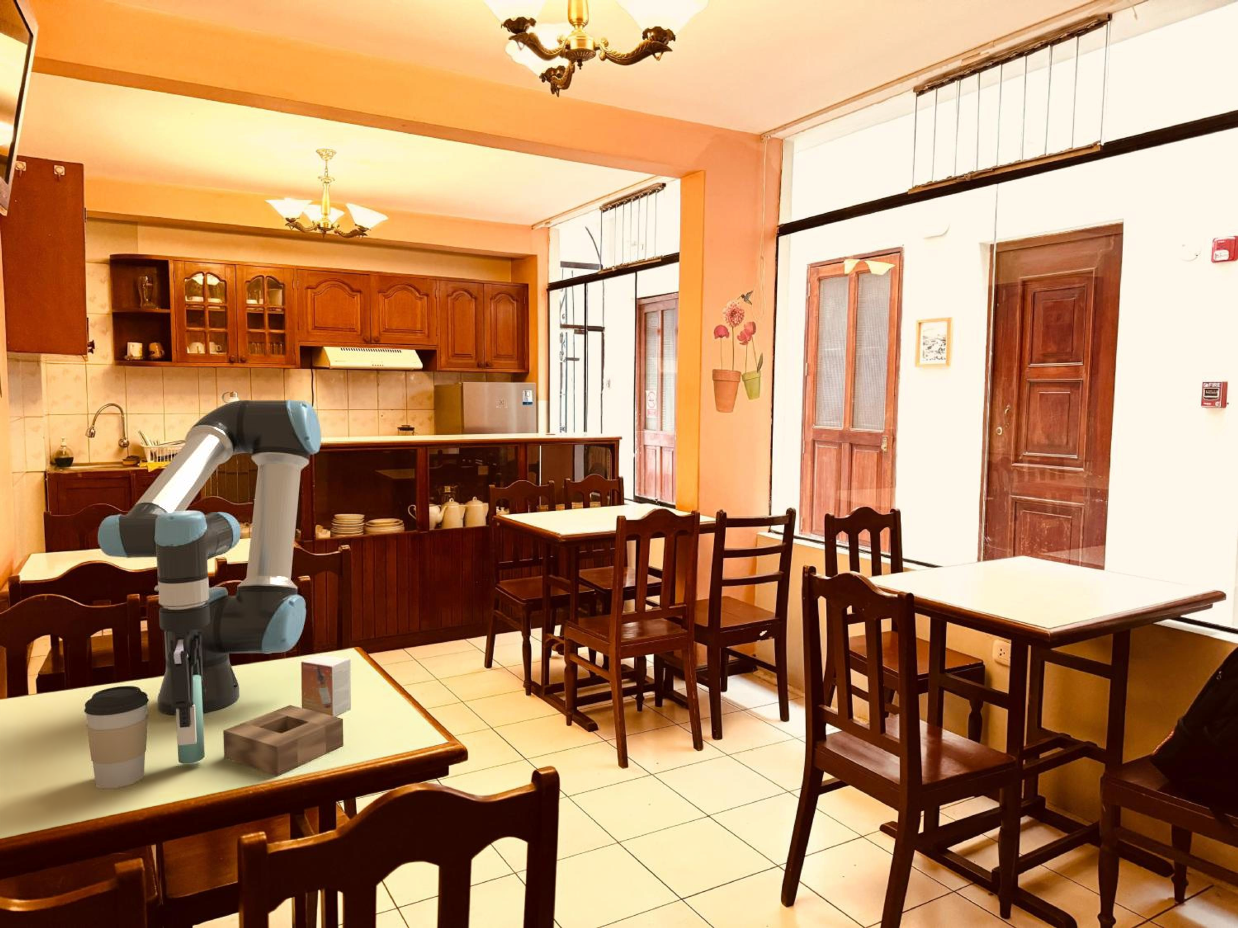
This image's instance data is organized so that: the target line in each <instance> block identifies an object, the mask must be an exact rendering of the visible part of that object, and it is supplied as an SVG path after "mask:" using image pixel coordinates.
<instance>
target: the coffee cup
mask: <svg viewBox="0 0 1238 928" xmlns="http://www.w3.org/2000/svg"><path fill="white" fill-rule="evenodd" d="M149 700H150V699H149V698H148V693H147V692H145V691H142V690H141V688H140V687H138V686H133V685H121V686H114V687H113V686H112V687H109V688H104V689H102V690H98V691H96V692H94V693H93V694H92V696H91V698H89V699H88V700H87V701H86V702H85V703H84V707H85V708H84V710H83V711H84V713H85V715H86V731H87V737H88V738H87V739H88V745H89V752H90V759H91V760H90V761H91V762H92V766H93V773H94V774H93V775H94V783H95V786H96V787H98V788H101V789H117V788H118V789H119V788H123V787H127V786H129V785H132V784H135V783H137V782H139V781H140V780H141V779H143V778H144V776H145V761H146V752H147V739H148V718H149V716H148V715H149V714H148V712H147V711H148V703H149V702H150V701H149Z"/></svg>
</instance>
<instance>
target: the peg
mask: <svg viewBox="0 0 1238 928" xmlns="http://www.w3.org/2000/svg"><path fill="white" fill-rule="evenodd" d="M193 702H194V704H193V705H195V714H196V736H197V742H196V744H187V745H178V735H177V734H176V738H177V739H176V740H177V758H178V763H180V764H193V763H198V762H199V761H200V762H201V760H203V759H204V758H205V754H206V753H205V736H204V735H205V734H204V713H203V709H202V686H201V676H199V675H193ZM175 718H176V721H175V722H176V723H177V714H176V715H175Z"/></svg>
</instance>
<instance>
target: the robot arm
mask: <svg viewBox="0 0 1238 928" xmlns="http://www.w3.org/2000/svg"><path fill="white" fill-rule="evenodd" d="M319 420H320V419H319V418H318V414H317V412H316V410H315V408H314V407H313V405H311V403H309V402H307V401H305V400H304V401H303V400H292V399H286V400H283V399H282V400H281V399H280V400H274V399H273V400H269V399H268V400H267V399H266V400H264V399H263V400H261V399H260V400H256V399H255V400H250V399H248V400H247V399H243V400H242V399H240V400H235V401H232V402H229V403H228V402H227V403H226V404H222V405H220V406H218V407H216V408H215V409H213V410H211V411H210V412H208V413H207V414H205V415H204V416H202V417H201V418H200V419H199V420H198V421H197V422H196V423H194V425H192V427H191V428H190V429H189V431H188V432H187V433H186V434H185V439H184V440H185V443H184V444H183V446H182V448H180V449H179V451H178V452H177V453H176V454H175V456H174V457H173V458H172V460H171V461H170V462H169V463H167V465H166V466H165V468H164V469H163V470H162V471H161V472H160V474H159V475H158V476H157V478H155V480H154V482H153V483H152V484H151V485H150V486H149V487H148V489H147V490H146V491H145V492H144V493H143V495H141V497H140V498H139V500H138V501H137V502H136V503H135V505H133V507H132V508H131V509H130V510H129V512H127V513H126V514H122V513H119V514H115V515H109V516H107V517H105V518H104V519H103V520H102V521H101V523H100V525H99V527H98V531H97V543H98V545H99V547H100V550H101V552H102V553H103V554H105V555H106V556H108V557H113V558H115V557H116V558H126V559H134V558H137V559H139V558H156V567H157V568H156V569H157V585H155V587H154V588H153V589H154V591H155V592H158V604H159V605H160V606H161V607H160V608H159V609H158V616H159V617H158V618H159V628H160V629H161V630H162V631H164V647H165V648H164V649H165V672H164V676H163V679H162V683H161V686H160V689H159V693H158V694H157V709H158V711H160V712H161V713H164V714H167V715H175V716H176V714H177V722H176V736H177V735H178V743H177V746H178V745H187V744H196V742H197V736H196V714H195V705H193V704H194V702H193V675H199V676H201V686H202V709H203V714H204V713H208V712H213V711H216V710H219V709H220V710H221V709H222V708H226V707H228V706H230V705H232V704H234V703H236V702H237V700H239V698H240V684H239V682H238V680H237V677H236V675H235V672H234V670H233V667H232V665H231V663H230V662H231V661H230V654H268V655H269V654H272V653H275V654H276V653H286V652H287V651H290V650H292V649H293V647H295V645H296V644H297V643H298V641H299V639H300V637H301V635H302V633H303V630H304V625H305V622H306V615H307V609H306V606H307V605H306V600H305V599H304V597H303V596H301V595H299V594H298V586H297V585H296V584H295V583H294V582H293V581H292V580H291V579H292V569H293V568H292V567H293V559H294V558H293V557H294V546H295V538H296V537H295V536H296V526H297V515H298V507H299V505H298V504H299V503H298V502H299V492H300V483H301V472H302V470H303V469H304V468H305V467H307V466H308V465H309V464H310V456H311V455H315V454H317V453H319V451H320V448H321V445H322V430H321V425H320V424H321V423H320V421H319ZM238 454H251V460H252V461H253V462H254V463H255V465H257V477H256V484H255V485H256V486H255V493H254V504H253V512H252V513H253V515H252V521H251V522H252V523H251V531H250V541H249V551H248V561H247V569H246V578H244V580H242V581H241V582H240V583H239V584H238V585H237V587H236V595H228V594H229V591H228V590H227V588H226V587H224V586H223V587H222V586H214V587H213V586H212V587H210V585H209V583H210V582H209V573H208V572H209V571H208V569H209V567H208V561H209V560H211V559H213V558H216V557H218V556H221V555H225V554H226V553H228V552H230V550H232V549H233V548H235V547H236V546H237V545H238V544H239V542H240V539H241V536H242V530H241V525H240V522H238V520H237V518H236V517H234V516H233V515H231V514H230V513H227V512H223V511H218V512H209V513H207V514H204V513H203V511H202V512H201V511H199V510H187V509H188V507H189V506H190V504H191V503H192V501H194V499H195V498H196V496H197V495H198V494H199V492H200V490H201V489H202V488H203V487H204V486H205V484H206V482H207V481H208V480H209V479H210V477H211V476H212V474H213V473H214V472H215V471H216V469H217V468H218V466H219V465H221V464H224V463H227V461H229V460H230V458H231V457H232V456H234V455H238Z"/></svg>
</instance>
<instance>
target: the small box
mask: <svg viewBox="0 0 1238 928" xmlns="http://www.w3.org/2000/svg"><path fill="white" fill-rule="evenodd" d="M351 664H352V663H351V658H348V657H347V658H343V657H337V656H329V655H325V654H317V655H315V656H313V657H310V658H307V659H305V660H302V661H301V663H300V669H301V671H300V672H301V673H300V674H301V680H300V681H301V683H300V684H301V689H300V690H301V693H300V694H301V708H304V709H308V710H312V711H315V712H319V713H323V714H327V715H331V716H334V717H337V716H339V715H341V714H344V713H346V712H347V711H349V710H350V709H352V693H351V692H352V689H351V688H352V687H351V686H352V684H351V683H352V682H351V679H352V678H351V675H352V673H351V670H352V668H351V666H352V665H351Z"/></svg>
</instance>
